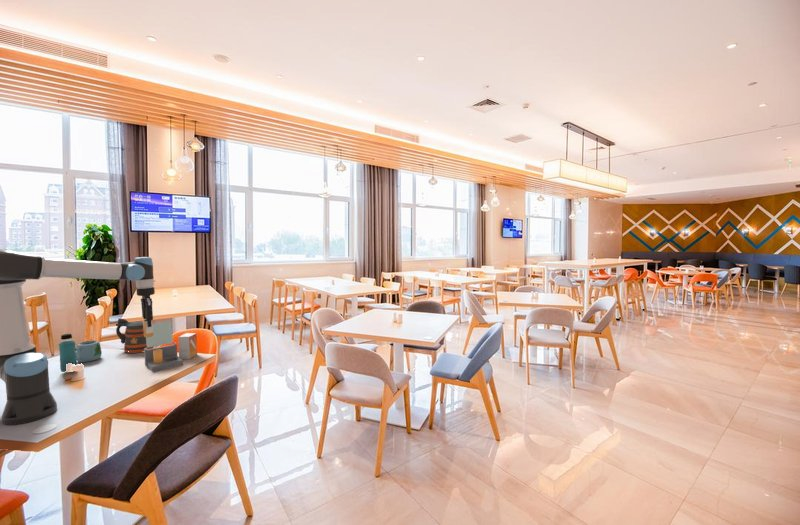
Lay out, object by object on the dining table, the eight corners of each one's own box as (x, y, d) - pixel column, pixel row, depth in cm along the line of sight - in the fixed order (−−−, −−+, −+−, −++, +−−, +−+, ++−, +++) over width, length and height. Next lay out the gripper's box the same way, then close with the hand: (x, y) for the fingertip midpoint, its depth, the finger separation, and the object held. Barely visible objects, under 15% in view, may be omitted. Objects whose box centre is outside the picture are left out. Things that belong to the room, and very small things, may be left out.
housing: (151, 371, 185) (150, 353, 185) (145, 365, 195) (144, 347, 194) (183, 364, 196) (183, 347, 195) (176, 358, 206) (175, 341, 205)
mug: (84, 366, 194) (82, 347, 193) (63, 365, 194) (62, 347, 193) (107, 356, 208) (106, 339, 208) (88, 356, 209) (87, 339, 208)
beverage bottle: (67, 375, 180) (64, 336, 179) (56, 374, 182) (54, 335, 180) (81, 370, 187) (78, 333, 185) (71, 369, 188) (68, 332, 187)
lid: (144, 324, 196) (144, 325, 196) (147, 347, 195) (147, 347, 195) (170, 321, 205) (170, 321, 205) (173, 342, 204) (173, 342, 204)
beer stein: (111, 355, 211) (108, 321, 209) (122, 347, 224) (120, 316, 223) (148, 352, 216) (146, 319, 215) (157, 345, 230) (155, 314, 229)
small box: (190, 359, 204) (189, 336, 203) (178, 359, 204) (177, 336, 203) (197, 354, 212) (196, 332, 211) (186, 354, 212) (185, 332, 211)
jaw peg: (144, 337, 183) (143, 320, 183) (143, 336, 186) (142, 319, 185) (154, 336, 186) (152, 319, 185) (152, 334, 189) (151, 317, 188)
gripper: (158, 288, 181) (161, 333, 183) (150, 284, 192) (153, 327, 195) (140, 290, 175) (143, 336, 178) (133, 286, 187) (136, 330, 189)
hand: (148, 331), depth 186 cm, fingers closed on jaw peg, 3 cm apart
